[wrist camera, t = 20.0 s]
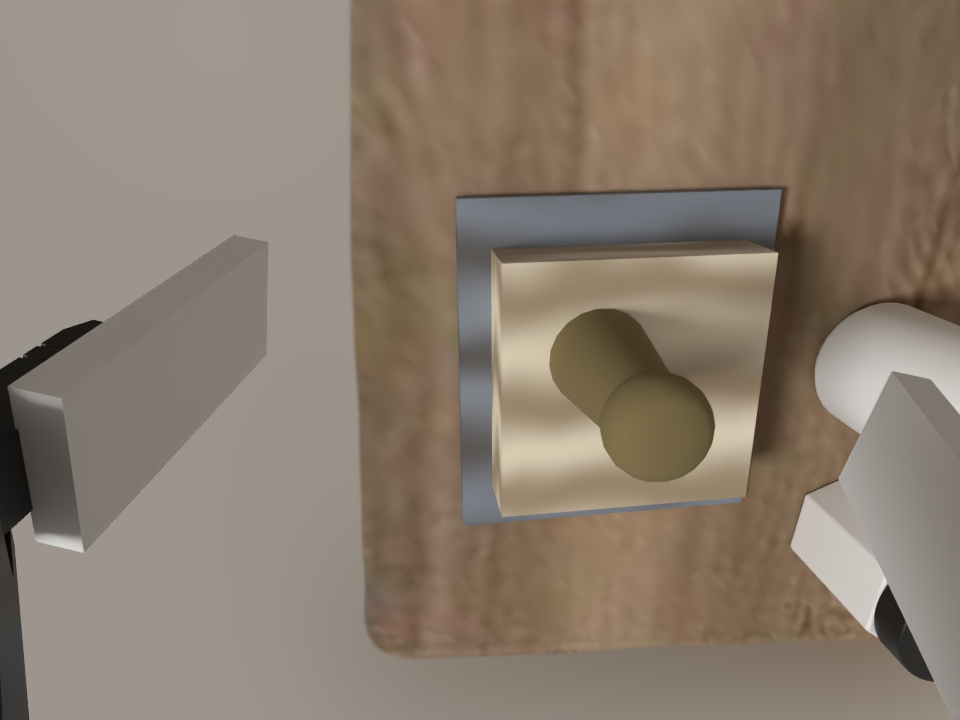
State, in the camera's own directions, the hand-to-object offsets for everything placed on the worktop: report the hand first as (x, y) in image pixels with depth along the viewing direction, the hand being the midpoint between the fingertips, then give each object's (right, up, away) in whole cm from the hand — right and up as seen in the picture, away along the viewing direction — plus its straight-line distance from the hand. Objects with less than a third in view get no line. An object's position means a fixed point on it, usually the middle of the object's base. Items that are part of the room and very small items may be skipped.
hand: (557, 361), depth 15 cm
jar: (+26, -12, +40) cm, 49 cm away
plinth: (+7, 0, +32) cm, 33 cm away
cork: (+5, 0, +27) cm, 27 cm away
